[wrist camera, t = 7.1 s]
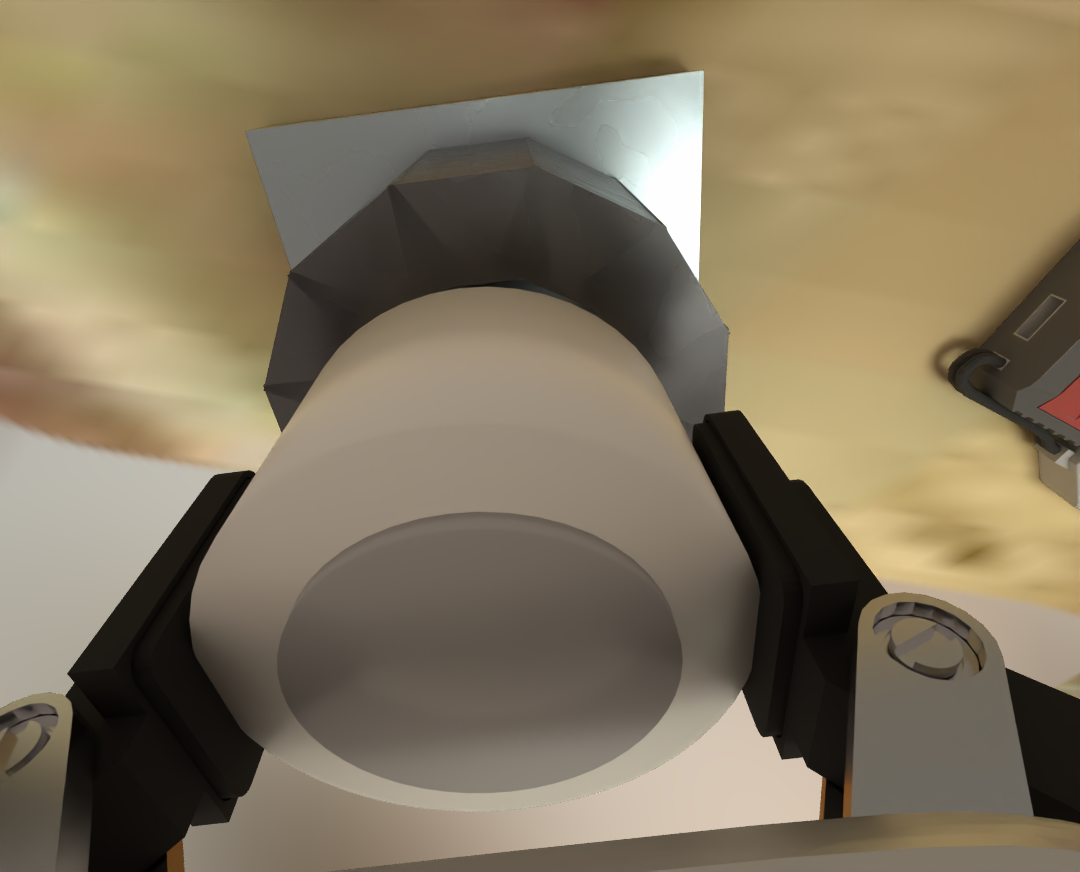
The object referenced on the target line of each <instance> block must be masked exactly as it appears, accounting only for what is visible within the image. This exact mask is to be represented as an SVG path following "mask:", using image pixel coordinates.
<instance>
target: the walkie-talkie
mask: <svg viewBox="0 0 1080 872" xmlns="http://www.w3.org/2000/svg"><path fill="white" fill-rule="evenodd" d="M948 379H949V381H950V383H951V384H952V385H953V387H954V388H955V389H956V390H957V391H959V392H960V393H962V394H963V395H964V396H966V397H968V398H969V399H971V400H973V401H975V402H977V403H979V404H981V405H983V406H984V407H986V408H988V409H990V410H992V411H994V412H996V413H998V414H999V415H1001V416H1003V417H1005V418H1007V419H1009V420H1011V421H1013V422H1014V423H1016V424H1018V425H1020V426H1022V427H1024V428H1025V429H1027V430H1029V431H1030V432H1032V433H1033V436H1034V440H1035V442H1036V444H1035V445H1034V446H1032V447H1034V448H1035V449H1036V450H1038V458H1039V474H1040V478H1041V481H1042V483H1044V484H1045V485H1046V486H1047V487H1049V488H1050V489H1051V490H1053V491H1054V492H1055V493H1056V494H1058V495H1059V496H1060V497H1062V498H1063V499H1064V500H1065V501H1067V502H1068V503H1069V504H1071V505H1072V506H1073V507H1075V508H1077V509H1079V510H1080V240H1079V241H1078V242H1077V243H1076V244H1075V245H1074V246H1073V247H1072V249H1071V250H1070V251H1069V252H1068V253H1067V254H1066V255H1065V256H1064V257H1063V258H1062V259H1061V261H1060V262H1059V263H1058V264H1057V265H1056V266H1055V267H1054V268H1053V269H1052V270H1051V271H1050V272H1049V274H1048V275H1047V276H1046V277H1045V278H1044V279H1043V280H1042V281H1041V282H1040V283H1039V284H1038V285H1037V287H1036V288H1035V289H1034V290H1033V291H1032V292H1031V293H1030V294H1029V295H1028V296H1027V297H1026V298H1025V300H1024V301H1023V302H1022V303H1021V304H1020V305H1019V306H1018V307H1017V308H1016V309H1015V310H1014V311H1013V313H1012V314H1011V315H1010V316H1009V317H1008V318H1007V319H1006V320H1005V321H1004V322H1003V323H1002V324H1001V326H1000V327H999V328H998V329H997V330H996V331H995V332H994V333H993V334H992V335H991V336H990V338H989V339H988V340H987V341H986V342H985V343H984V344H983V345H982V346H981V347H980V348H979V349H978V348H977V349H973V350H970V351H967V352H965V353H964V354H962V355H961V356H960V357H958V358H957V359H956V360H955V361H954V362H953V363H952V364H951V366H950V368H949V373H948ZM969 383H971V384H972V385H974V386H975V387H977V388H978V389H980V390H981V391H980V390H978V389H976V388H974V387H972V386H971V385H970V384H969ZM982 391H983V392H982ZM985 393H986V394H985Z"/></svg>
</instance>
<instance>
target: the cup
mask: <svg viewBox="0 0 1080 872" xmlns="http://www.w3.org/2000/svg"><path fill="white" fill-rule="evenodd" d="M759 598H760V589H759V583H758V579H757V577H756V574H755V572H754V569H753V566H752V564H751V561H750V559H749V556H748V554H747V552H746V550H745V548H744V546H743V544H742V542H741V540H740V538H739V536H738V534H737V532H736V530H735V528H734V526H733V524H732V522H731V520H730V518H729V516H728V514H727V512H726V510H725V508H724V506H723V504H722V502H721V500H720V498H719V496H718V494H717V492H716V490H715V488H714V486H713V484H712V483H711V481H710V479H709V477H708V475H707V473H706V471H705V469H704V467H703V465H702V463H701V461H700V459H699V457H698V455H697V453H696V451H695V449H694V447H693V445H692V443H691V441H690V439H689V437H688V435H687V433H686V431H685V429H684V427H683V425H682V423H681V421H680V419H679V417H678V415H677V413H676V411H675V409H674V407H673V405H672V403H671V401H670V399H669V397H668V395H667V393H666V391H665V389H664V387H663V385H662V384H661V382H660V380H659V379H658V377H657V375H656V374H655V372H654V370H653V369H652V367H651V365H650V364H649V363H648V362H647V360H646V359H645V358H644V357H643V356H642V354H641V353H640V352H639V351H638V350H637V348H636V347H635V346H634V345H633V344H632V343H631V342H629V341H628V340H627V339H626V338H625V337H624V336H623V335H622V334H621V333H620V332H618V331H617V330H616V329H615V328H613V327H612V326H610V325H609V324H607V323H606V322H604V321H603V320H601V319H600V318H598V317H597V316H595V315H594V314H592V313H590V312H588V311H585V310H583V309H581V308H579V307H577V306H575V305H573V304H571V303H569V302H566V301H563V300H560V299H557V298H554V297H551V296H548V295H545V294H541V293H536V292H531V291H526V290H521V289H514V288H500V287H474V288H458V289H453V290H448V291H443V292H437V293H432V294H429V295H426V296H423V297H420V298H417V299H414V300H411V301H408V302H405V303H403V304H400V305H398V306H396V307H394V308H392V309H390V310H388V311H386V312H384V313H382V314H380V315H379V316H377V317H376V318H374V319H373V320H371V321H370V322H369V323H367V324H366V325H364V326H363V327H361V328H360V329H358V330H357V331H356V332H355V333H354V334H353V335H352V336H351V337H350V338H349V339H348V340H346V341H345V342H344V343H343V344H342V345H341V346H340V347H339V348H338V350H337V351H336V352H335V353H334V355H333V356H332V357H331V358H330V360H329V361H328V362H327V364H326V365H325V366H324V368H323V369H322V371H321V372H320V374H319V375H318V377H317V379H316V380H315V382H314V383H313V385H312V386H311V388H310V390H309V391H308V393H307V394H306V396H305V397H304V399H303V401H302V402H301V404H300V405H299V407H298V408H297V410H296V412H295V413H294V415H293V416H292V418H291V419H290V421H289V423H288V424H287V426H286V427H285V429H284V430H283V432H282V434H281V435H280V437H279V438H278V440H277V441H276V443H275V445H274V446H273V448H272V449H271V451H270V452H269V454H268V456H267V457H266V459H265V460H264V462H263V463H262V465H261V467H260V468H259V470H258V471H257V473H256V474H255V476H254V478H253V479H252V481H251V482H250V484H249V485H248V487H247V489H246V490H245V492H244V493H243V495H242V496H241V498H240V500H239V501H238V503H237V504H236V506H235V507H234V509H233V511H232V512H231V514H230V515H229V517H228V518H227V520H226V522H225V523H224V525H223V526H222V528H221V529H220V531H219V533H218V534H217V536H216V537H215V539H214V541H213V543H212V545H211V546H210V548H209V550H208V552H207V554H206V556H205V558H204V559H203V561H202V563H201V565H200V568H199V571H198V574H197V578H196V581H195V584H194V587H193V591H192V596H191V607H190V619H189V622H190V630H191V639H192V647H193V650H194V653H195V657H196V658H197V660H198V661H199V663H200V665H201V666H202V668H203V669H204V671H205V673H206V674H207V676H208V677H209V679H210V680H211V682H212V684H213V685H214V687H215V688H216V690H217V692H218V693H219V695H220V696H221V698H222V700H223V701H224V703H225V704H226V706H227V707H228V709H229V711H230V712H231V714H232V715H233V717H234V719H235V720H236V722H237V723H238V725H239V727H240V728H241V729H242V730H243V731H244V732H245V733H246V734H247V735H248V736H249V737H250V738H251V739H253V740H254V741H255V742H256V743H258V744H259V745H260V746H261V747H263V748H264V749H265V750H267V751H268V752H269V753H271V754H272V755H274V756H275V757H277V758H279V759H280V760H282V761H283V762H285V763H287V764H288V765H290V766H292V767H293V768H295V769H297V770H299V771H301V772H303V773H305V774H307V775H309V776H311V777H313V778H315V779H317V780H319V781H322V782H324V783H327V784H329V785H332V786H335V787H338V788H340V789H342V790H345V791H348V792H351V793H355V794H358V795H361V796H365V797H368V798H372V799H375V800H380V801H384V802H389V803H394V804H398V805H403V806H410V807H418V808H425V809H433V810H447V811H503V810H516V809H525V808H532V807H539V806H546V805H551V804H556V803H561V802H565V801H570V800H574V799H579V798H582V797H585V796H589V795H592V794H595V793H599V792H602V791H605V790H608V789H610V788H613V787H615V786H618V785H621V784H623V783H625V782H628V781H631V780H633V779H635V778H637V777H639V776H641V775H643V774H645V773H647V772H649V771H651V770H653V769H655V768H657V767H659V766H660V765H662V764H664V763H665V762H667V761H669V760H670V759H672V758H674V757H675V756H677V755H678V754H680V753H681V752H682V751H684V750H685V749H686V748H688V747H689V746H690V745H692V744H693V743H694V742H696V741H697V740H698V739H699V738H701V737H702V736H703V735H704V734H705V733H706V732H707V731H708V730H709V729H710V728H711V727H712V726H713V725H714V724H715V723H717V722H718V720H719V719H720V718H721V717H722V716H723V714H724V713H725V712H726V711H727V710H728V708H729V707H730V706H731V705H732V703H733V702H734V701H735V699H736V698H737V696H738V694H739V693H740V691H741V690H742V688H743V686H744V685H745V683H746V681H747V680H748V677H749V675H750V672H751V670H752V662H753V653H754V644H755V635H756V625H757V616H758V607H759Z"/></svg>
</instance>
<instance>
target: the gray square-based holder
mask: <svg viewBox="0 0 1080 872" xmlns="http://www.w3.org/2000/svg"><path fill="white" fill-rule="evenodd" d="M703 89H704V70H701V71H684V72H677V73H669V74H662V75H654V76H647V77H639V78H632V79H624V80H616V81H609V82H601V83H594V84H586V85H579V86H571V87H564V88H556V89H549V90H541V91H534V92H526V93H519V94H511V95H503V96H496V97H488V98H481V99H473V100H466V101H458V102H451V103H443V104H436V105H428V106H421V107H413V108H405V109H398V110H390V111H383V112H375V113H368V114H360V115H353V116H345V117H338V118H330V119H323V120H315V121H308V122H300V123H292V124H285V125H277V126H270V127H263V128H259V129H254V130H249V131H245V132H246V135H247V138H248V141H249V144H250V147H251V150H252V153H253V156H254V159H255V162H256V165H257V168H258V171H259V174H260V177H261V180H262V183H263V186H264V189H265V192H266V195H267V198H268V201H269V204H270V207H271V210H272V213H273V216H274V220H275V223H276V226H277V229H278V232H279V235H280V238H281V241H282V244H283V247H284V250H285V253H286V256H287V259H288V262H289V265H290V268H291V271H290V274H289V275H288V277H289V278H288V283H287V287H286V292H285V296H284V301H283V305H282V310H281V314H280V319H279V323H278V328H277V332H276V337H275V341H274V346H273V350H272V355H271V359H270V364H269V368H268V373H267V377H266V382H265V384H264V385H263V387H264V391H265V392H266V394H267V397H268V399H269V402H270V404H271V407H272V409H273V412H274V414H275V417H276V419H277V422H278V425H279V427H280V430H281V432H283V430H284V429H285V427H286V426H287V424H288V423H289V421H290V419H291V418H292V416H293V415H294V413H295V412H296V410H297V408H298V407H299V405H300V404H301V402H302V401H303V399H304V397H305V396H306V394H307V393H308V391H309V390H310V388H311V386H312V385H313V383H314V382H315V380H316V379H317V377H318V375H319V374H320V372H321V371H322V369H323V368H324V366H325V365H326V364H327V362H328V361H329V360H330V358H331V357H332V356H333V355H334V353H335V352H336V351H337V350H338V348H339V347H340V346H341V345H342V344H343V343H344V342H345V341H346V340H348V339H349V338H350V337H351V336H352V335H353V334H354V333H355V332H356V331H357V330H358V329H360V328H361V327H363V326H364V325H366V324H367V323H369V322H370V321H371V320H373V319H374V318H376V317H377V316H379V315H380V314H382V313H384V312H386V311H388V310H390V309H392V308H394V307H396V306H398V305H400V304H403V303H405V302H408V301H411V300H414V299H417V298H420V297H423V296H426V295H429V294H432V293H437V292H443V291H448V290H453V289H458V288H474V287H500V288H514V289H521V290H526V291H531V292H536V293H541V294H545V295H548V296H551V297H554V298H557V299H560V300H563V301H566V302H569V303H571V304H573V305H575V306H577V307H579V308H581V309H583V310H585V311H588V312H590V313H592V314H594V315H595V316H597V317H598V318H600V319H601V320H603V321H604V322H606V323H607V324H609V325H610V326H612V327H613V328H615V329H616V330H617V331H618V332H620V333H621V334H622V335H623V336H624V337H625V338H626V339H627V340H628V341H629V342H631V343H632V344H633V345H634V346H635V347H636V348H637V350H638V351H639V352H640V353H641V354H642V356H643V357H644V358H645V359H646V360H647V362H648V363H649V364H650V365H651V367H652V369H653V370H654V372H655V374H656V375H657V377H658V379H659V380H660V382H661V384H662V385H663V387H664V389H665V391H666V393H667V395H668V397H669V399H670V401H671V403H672V405H673V407H674V409H675V411H676V413H677V415H678V417H679V419H680V421H681V423H682V425H683V427H684V429H685V431H686V433H687V435H688V437H689V439H690V441H691V443H692V433H693V426H694V424H698V423H703V419H704V416H705V415H706V414H711V413H719V412H724V407H725V389H726V371H727V353H728V335H729V334H730V333H729V329H728V327H727V326H726V325H725V324H724V323H723V321H722V320H721V318H720V316H719V315H718V313H717V312H716V310H715V308H714V307H713V305H712V303H711V302H710V300H709V298H708V297H707V295H706V293H705V292H704V290H703V288H702V287H701V285H700V283H699V243H700V205H701V166H702V127H703Z"/></svg>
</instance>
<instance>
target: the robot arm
mask: <svg viewBox="0 0 1080 872" xmlns="http://www.w3.org/2000/svg"><path fill="white" fill-rule="evenodd" d="M692 445H693V447H694V449H695V451H696V453H697V455H698V457H699V459H700V461H701V463H702V465H703V467H704V469H705V471H706V473H707V475H708V477H709V479H710V481H711V483H712V484H713V486H714V488H715V490H716V492H717V494H718V496H719V498H720V500H721V502H722V504H723V506H724V508H725V510H726V512H727V514H728V516H729V518H730V520H731V522H732V524H733V526H734V528H735V530H736V532H737V534H738V536H739V538H740V540H741V542H742V544H743V546H744V548H745V550H746V552H747V554H748V556H749V559H750V561H751V564H752V566H753V569H754V572H755V574H756V577H757V579H758V583H759V589H760V598H759V607H758V616H757V625H756V635H755V644H754V653H753V662H752V670H751V672H750V675H749V677H748V680H747V681H746V683H745V685H744V686H743V688H742V690H743V693H744V695H745V699H746V701H747V704H748V706H749V709H750V712H751V714H752V717H753V719H754V722H755V724H756V727H757V729H758V731H759V733H760V735H761V736H762V737H769V736H773V738H774V741H775V744H776V746H777V749H778V751H779V753H780V756H781V759H782V760H783V759H791V758H800V757H803V759H804V761H805V763H806V766H807V767H808V768H810V769H811V770H813V771H815V772H816V773H818V774H819V775H821V776H823V778H822V790H821V803H820V815H819V820H814V821H803V822H792V823H780V824H768V825H757V826H745V827H736V828H727V829H719V830H718V829H717V830H709V831H698V832H689V833H679V834H670V835H661V836H651V837H642V838H632V839H623V840H613V841H604V842H594V843H585V844H575V845H567V846H556V847H548V848H538V849H529V850H520V851H511V852H501V853H493V854H484V855H474V856H466V857H456V858H447V859H438V860H429V861H420V862H411V863H403V864H393V865H384V866H376V867H367V868H357V869H348V870H340V871H331V872H1080V699H1078V698H1076V697H1073V696H1071V695H1068V694H1066V693H1064V692H1061V691H1059V690H1057V689H1054V688H1052V687H1049V686H1047V685H1045V684H1043V683H1040V682H1038V681H1036V680H1033V679H1031V678H1028V677H1026V676H1024V675H1021V674H1019V673H1017V672H1014V671H1012V670H1010V669H1007V668H1005V665H1004V660H1003V656H1002V653H1001V651H1000V649H999V646H998V644H997V641H996V640H995V638H994V637H993V636H992V635H991V634H990V632H989V631H988V630H987V629H986V628H985V627H984V625H983V624H981V623H980V622H979V621H977V620H976V619H975V618H973V617H972V616H971V615H969V614H968V613H967V612H965V611H964V610H962V609H960V608H957V607H956V606H953V605H952V604H950V603H948V602H946V601H943V600H939V599H936V598H933V597H930V596H926V595H921V594H913V593H894V594H888V593H887V592H886V590H885V589H884V588H883V586H882V585H881V583H880V582H879V581H878V579H877V578H876V577H875V575H874V574H873V573H872V571H871V570H870V569H869V567H868V566H867V565H866V563H865V562H864V560H863V559H862V558H861V556H860V555H859V554H858V552H857V551H856V550H855V548H854V547H853V546H852V544H851V543H850V542H849V540H848V539H847V537H846V536H845V535H844V533H843V532H842V531H841V529H840V528H839V527H838V525H837V524H836V523H835V521H834V520H833V519H832V517H831V516H830V514H829V513H828V512H827V510H826V509H825V508H824V506H823V505H822V504H821V502H820V501H819V500H818V498H817V497H816V496H815V494H814V493H813V491H812V490H811V489H810V487H809V486H808V485H807V484H806V483H805V482H804V481H802V480H799V479H797V480H789V479H788V477H787V476H786V474H785V473H784V472H783V470H782V469H781V467H780V466H779V464H778V463H777V462H776V460H775V459H774V457H773V456H772V455H771V453H770V452H769V450H768V449H767V447H766V446H765V445H764V443H763V442H762V440H761V439H760V437H759V436H758V435H757V433H756V432H755V430H754V429H753V428H752V426H751V425H750V423H749V422H748V420H747V419H746V418H745V416H744V415H743V413H742V412H741V411H739V410H736V411H727V412H719V413H711V414H706V415H705V416H704V419H703V423H698V424H694V426H693V433H692ZM254 476H255V473H254V472H253V471H250V470H248V471H240V472H232V473H224V474H217V475H214V476H213V477H212V478H211V479H210V481H209V482H208V483H207V485H206V486H205V488H204V489H203V490H202V492H201V493H200V494H199V496H198V497H197V498H196V500H195V501H194V502H193V504H192V505H191V507H190V508H189V509H188V511H187V512H186V513H185V514H184V516H183V517H182V519H181V520H180V521H179V523H178V524H177V525H176V527H175V528H174V529H173V531H172V532H171V534H170V535H169V536H168V538H167V539H166V540H165V542H164V543H163V544H162V546H161V547H160V548H159V550H158V551H157V553H156V554H155V555H154V557H153V558H152V559H151V561H150V562H149V563H148V565H147V566H146V567H145V569H144V570H143V572H142V573H141V574H140V576H139V577H138V578H137V580H136V581H135V582H134V584H133V585H132V586H131V588H130V589H129V591H128V592H127V593H126V595H125V596H124V597H123V599H122V600H121V602H120V603H119V604H118V605H117V607H116V608H115V610H114V611H113V612H112V614H111V615H110V616H109V618H108V619H107V621H106V622H105V623H104V624H103V626H102V627H101V629H100V630H99V631H98V633H97V634H96V635H95V637H94V638H93V639H92V641H91V642H90V644H89V645H88V646H87V648H86V649H85V650H84V652H83V653H82V654H81V656H80V657H79V658H78V660H77V661H76V662H75V664H74V665H73V667H72V668H71V669H70V671H69V672H68V673H67V674H68V675H69V676H70V677H71V679H72V680H73V681H74V684H73V686H72V687H71V689H70V690H69V691H68V693H67V694H66V696H64V695H62V694H56V693H51V692H49V693H41V694H35V695H31V696H28V697H25V698H22V699H19V700H16V701H13V702H11V703H9V704H8V705H6V706H4V707H2V708H0V872H185V869H184V852H183V841H182V839H183V838H184V837H185V835H186V833H187V831H188V828H189V826H190V824H191V825H192V826H199V825H208V824H217V823H226V822H229V820H230V818H231V815H232V812H233V810H234V807H235V804H236V802H237V799H238V797H242V796H243V795H245V794H246V793H247V791H248V790H249V788H250V786H251V784H252V781H253V778H254V775H255V773H256V770H257V767H258V765H259V762H260V759H261V756H262V753H263V751H264V748H263V747H261V746H260V745H259V744H258V743H256V742H255V741H254V740H253V739H251V738H250V737H249V736H248V735H247V734H246V733H245V732H244V731H243V730H242V729H241V728H240V727H239V725H238V723H237V722H236V720H235V719H234V717H233V715H232V714H231V712H230V711H229V709H228V707H227V706H226V704H225V703H224V701H223V700H222V698H221V696H220V695H219V693H218V692H217V690H216V688H215V687H214V685H213V684H212V682H211V680H210V679H209V677H208V676H207V674H206V673H205V671H204V669H203V668H202V666H201V665H200V663H199V661H198V660H197V658H196V657H195V653H194V650H193V647H192V639H191V630H190V622H189V619H190V607H191V596H192V591H193V587H194V584H195V581H196V578H197V574H198V571H199V568H200V565H201V563H202V561H203V559H204V558H205V556H206V554H207V552H208V550H209V548H210V546H211V545H212V543H213V541H214V539H215V537H216V536H217V534H218V533H219V531H220V529H221V528H222V526H223V525H224V523H225V522H226V520H227V518H228V517H229V515H230V514H231V512H232V511H233V509H234V507H235V506H236V504H237V503H238V501H239V500H240V498H241V496H242V495H243V493H244V492H245V490H246V489H247V487H248V485H249V484H250V482H251V481H252V479H253V478H254Z"/></svg>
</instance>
